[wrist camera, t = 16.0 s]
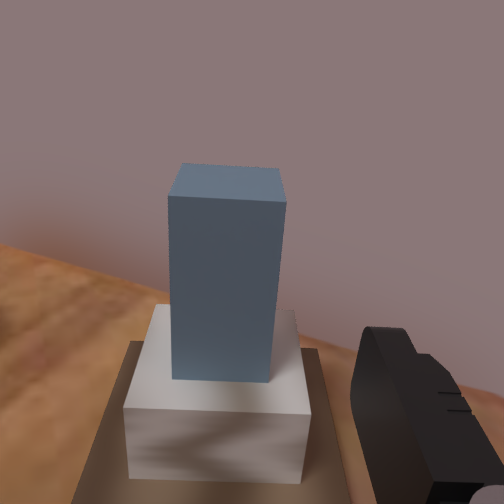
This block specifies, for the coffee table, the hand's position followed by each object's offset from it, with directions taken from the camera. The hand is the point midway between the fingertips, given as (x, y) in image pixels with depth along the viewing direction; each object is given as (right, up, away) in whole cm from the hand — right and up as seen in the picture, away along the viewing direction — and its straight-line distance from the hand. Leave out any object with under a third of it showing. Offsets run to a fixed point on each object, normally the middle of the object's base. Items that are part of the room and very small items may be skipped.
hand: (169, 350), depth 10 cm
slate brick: (0, -4, +16) cm, 17 cm away
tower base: (0, -11, +20) cm, 23 cm away
